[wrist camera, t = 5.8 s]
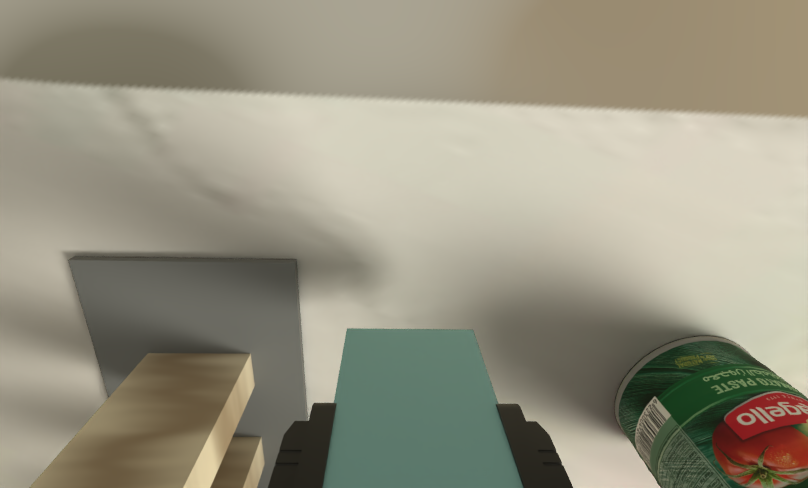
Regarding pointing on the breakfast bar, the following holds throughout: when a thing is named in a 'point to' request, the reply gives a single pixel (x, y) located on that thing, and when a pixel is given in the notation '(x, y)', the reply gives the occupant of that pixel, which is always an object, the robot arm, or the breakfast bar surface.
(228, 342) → the mat
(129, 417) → the tile
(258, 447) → the light wooden block
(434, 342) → the tile
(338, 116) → the breakfast bar surface
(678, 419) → the canned tomato
